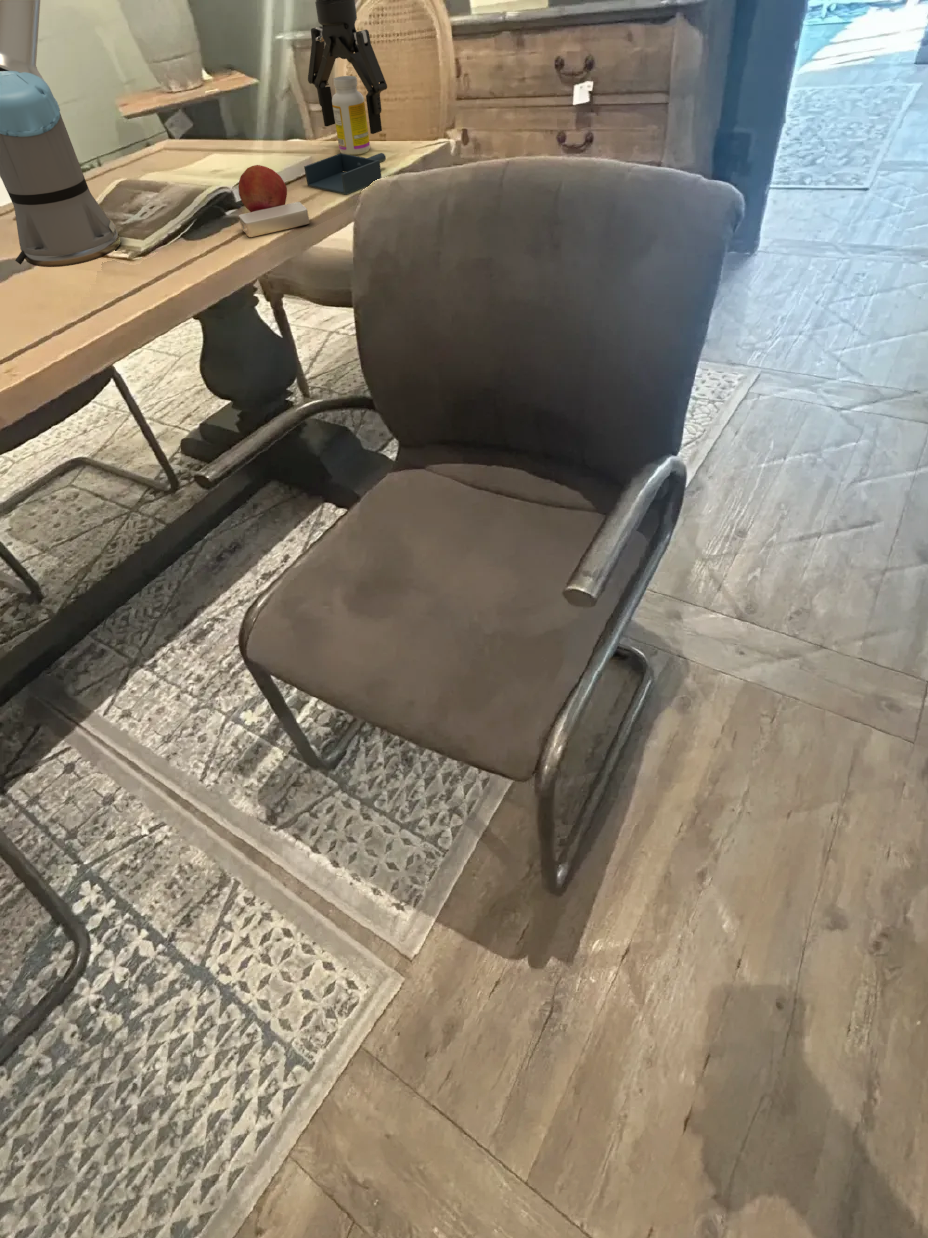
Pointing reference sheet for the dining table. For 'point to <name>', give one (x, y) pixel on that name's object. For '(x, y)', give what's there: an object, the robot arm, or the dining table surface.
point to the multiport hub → (274, 219)
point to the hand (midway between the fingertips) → (352, 128)
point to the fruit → (261, 188)
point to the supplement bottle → (350, 116)
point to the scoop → (334, 178)
